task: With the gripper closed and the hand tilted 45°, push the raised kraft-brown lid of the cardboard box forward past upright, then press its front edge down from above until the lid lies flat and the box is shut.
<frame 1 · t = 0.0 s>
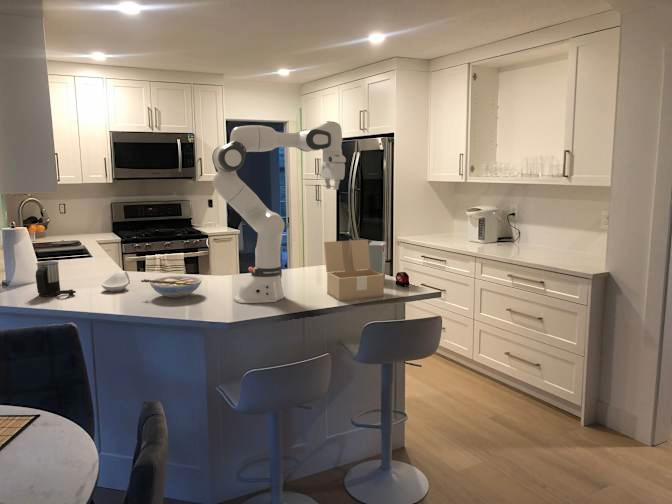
hand: (332, 189, 251), 48 cm above the countertop, tool pointing down, fingers open, 8 cm apart
hard drive box: (376, 281, 281), on the countertop
milk frother: (57, 295, 250), on the countertop
ramen bowl: (176, 296, 248), on the countertop
squeeze bottle: (350, 271, 305), on the countertop
lid: (347, 255, 257), point 17 cm above the countertop, hinge at 104.0°
spoon rest: (118, 288, 265), on the countertop
cardboard box: (355, 295, 252), on the countertop
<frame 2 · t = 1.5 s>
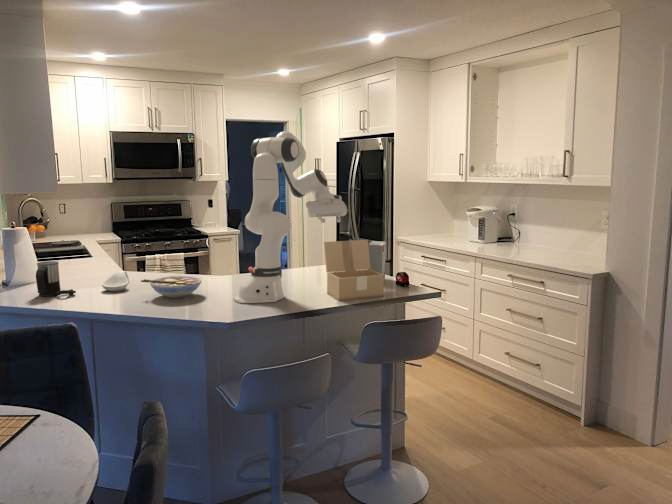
hand: (331, 221, 274), 31 cm above the countertop, tool tilted 45°, fingers open, 7 cm apart
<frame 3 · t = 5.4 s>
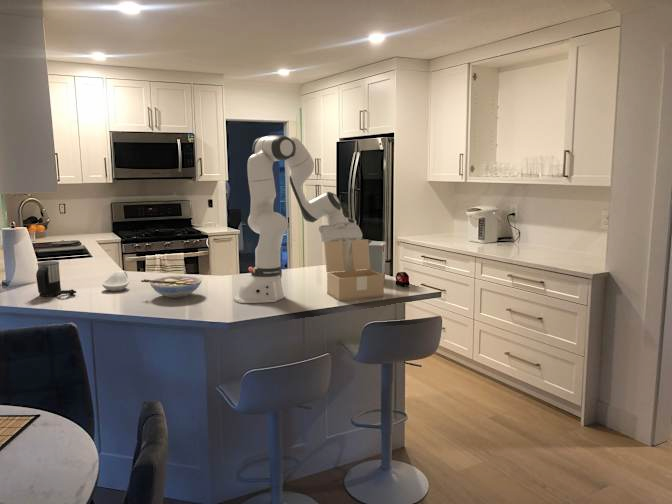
hand: (345, 248, 259), 20 cm above the countertop, tool tilted 45°, fingers closed, pressing on lid
lid: (347, 255, 257), point 17 cm above the countertop, hinge at 102.2°, touching gripper
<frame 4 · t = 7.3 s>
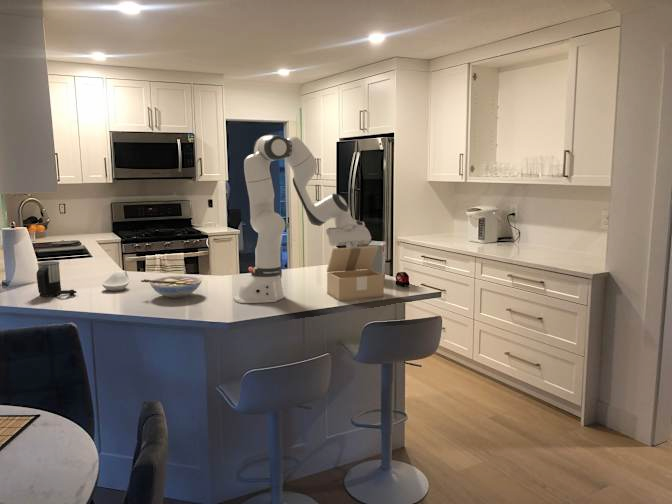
hand: (354, 251, 250), 20 cm above the countertop, tool tilted 45°, fingers closed, pressing on lid
lid: (352, 258, 252), point 16 cm above the countertop, hinge at 55.7°, touching gripper
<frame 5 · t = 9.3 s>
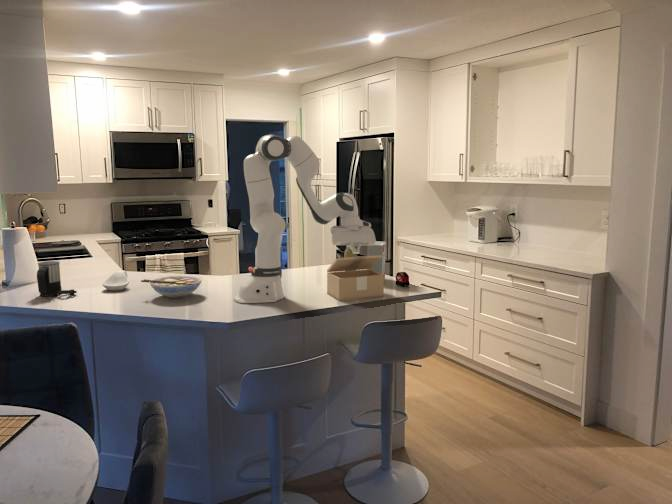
hand: (356, 253, 246), 20 cm above the countertop, tool tilted 35°, fingers closed
lid: (354, 263, 251), point 14 cm above the countertop, hinge at 32.9°
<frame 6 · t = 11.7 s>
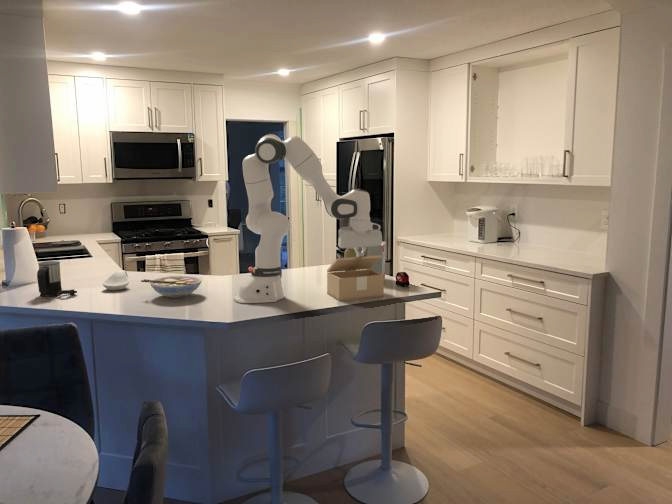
hand: (360, 256, 245), 19 cm above the countertop, tool pointing down, fingers closed, pressing on lid
lid: (354, 263, 251), point 14 cm above the countertop, hinge at 32.6°, touching gripper
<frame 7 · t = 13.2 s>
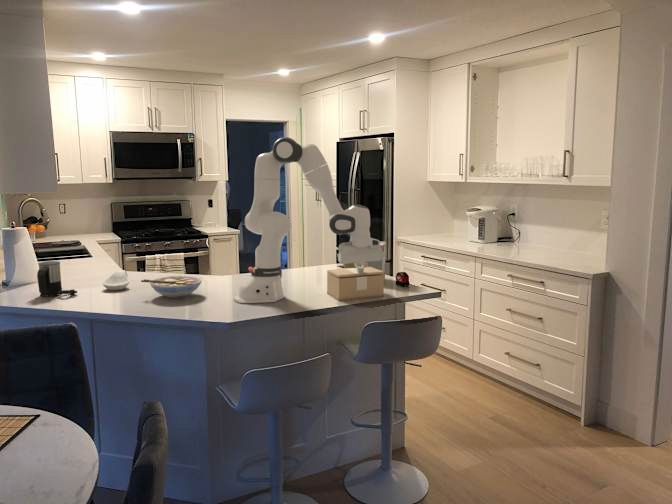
hand: (360, 272, 246), 12 cm above the countertop, tool pointing down, fingers closed, pressing on lid
lid: (355, 271, 250), point 11 cm above the countertop, hinge at 1.7°, touching gripper
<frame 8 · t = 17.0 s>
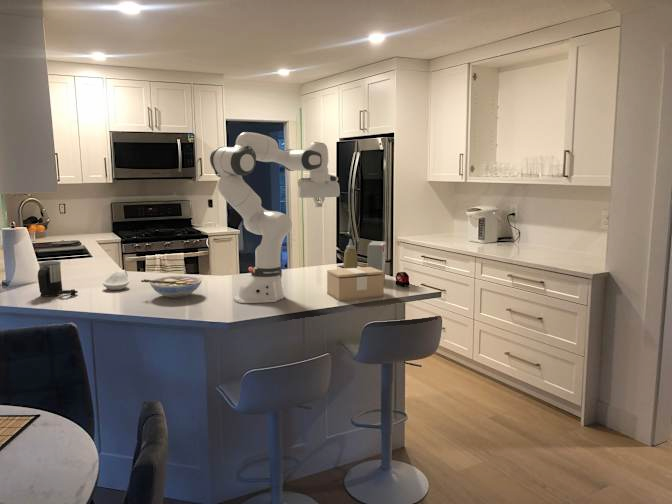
hand: (318, 207, 260), 39 cm above the countertop, tool pointing down, fingers closed
lid: (355, 271, 250), point 11 cm above the countertop, hinge at 1.7°
at the end: lid at +2° (first picture: +104°); the gripper is holding nothing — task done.
